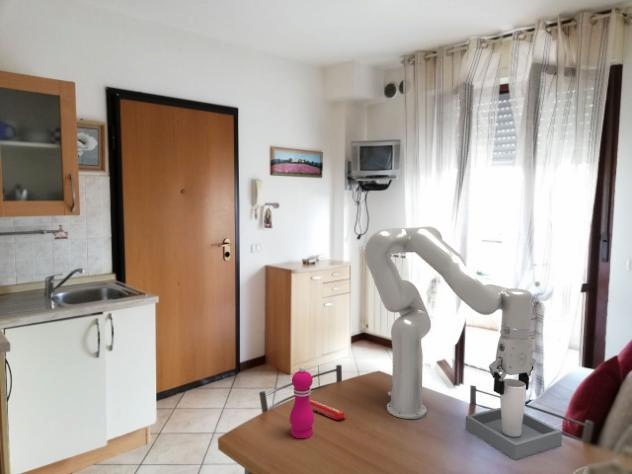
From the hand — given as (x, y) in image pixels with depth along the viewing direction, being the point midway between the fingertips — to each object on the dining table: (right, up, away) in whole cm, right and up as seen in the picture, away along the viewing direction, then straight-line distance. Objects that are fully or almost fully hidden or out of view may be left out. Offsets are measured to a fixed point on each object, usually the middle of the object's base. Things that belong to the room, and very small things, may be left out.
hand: (510, 390), depth 127 cm
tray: (0, -14, 0) cm, 14 cm away
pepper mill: (-60, -13, +1) cm, 62 cm away
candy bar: (-54, -13, +15) cm, 57 cm away
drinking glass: (0, -13, 0) cm, 13 cm away
